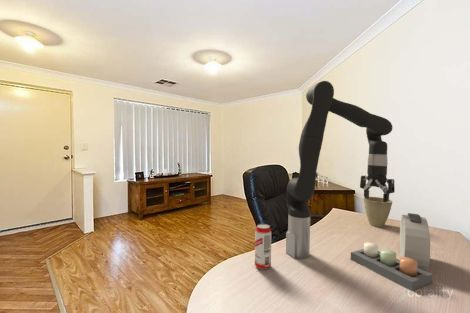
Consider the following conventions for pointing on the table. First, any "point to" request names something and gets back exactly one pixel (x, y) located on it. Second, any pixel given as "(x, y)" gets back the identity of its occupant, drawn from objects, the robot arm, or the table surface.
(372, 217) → the plant pot
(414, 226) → the alarm clock
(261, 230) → the beer can
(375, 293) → the table surface
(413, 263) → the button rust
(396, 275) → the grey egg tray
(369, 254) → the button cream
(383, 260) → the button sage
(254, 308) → the table surface
